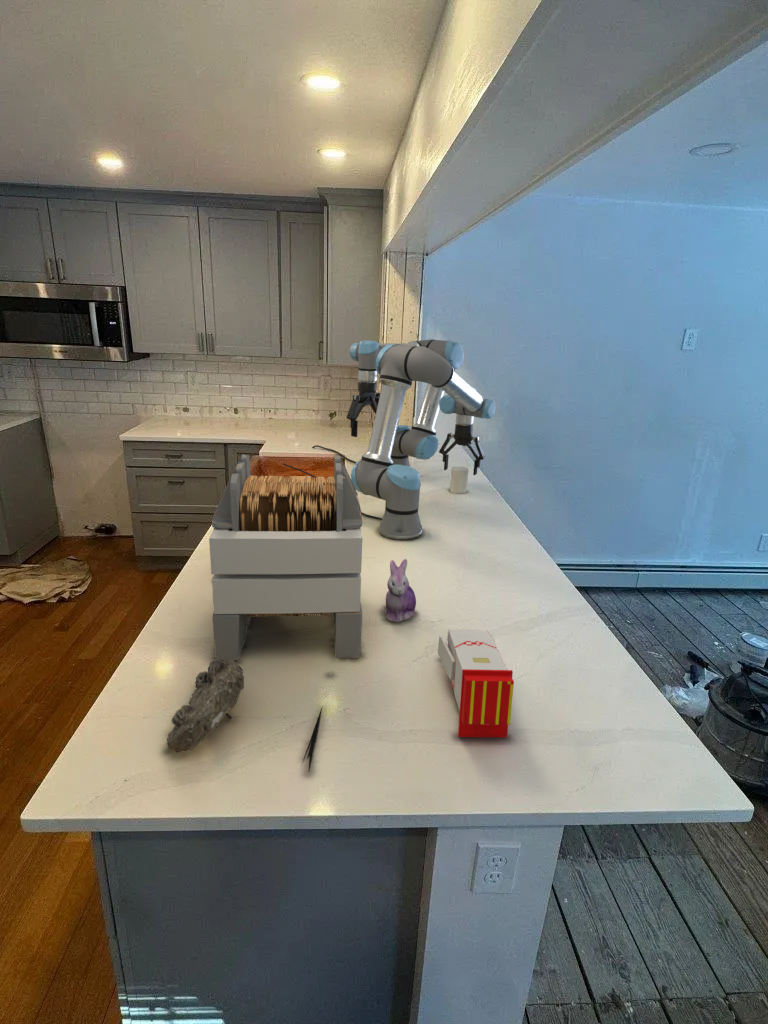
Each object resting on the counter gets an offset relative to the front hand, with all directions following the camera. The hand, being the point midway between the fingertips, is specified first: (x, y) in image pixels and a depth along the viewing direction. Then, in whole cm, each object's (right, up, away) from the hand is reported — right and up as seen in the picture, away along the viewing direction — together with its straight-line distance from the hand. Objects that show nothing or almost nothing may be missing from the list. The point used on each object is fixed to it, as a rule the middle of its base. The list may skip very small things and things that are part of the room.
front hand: (460, 472), depth 248 cm
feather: (-46, -57, -139) cm, 157 cm away
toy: (-15, -55, -129) cm, 141 cm away
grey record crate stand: (-56, -45, -106) cm, 128 cm away
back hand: (-41, +14, -16) cm, 46 cm away
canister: (-1, -8, +3) cm, 9 cm away
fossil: (-66, -57, -140) cm, 165 cm away
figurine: (-29, -44, -101) cm, 114 cm away
